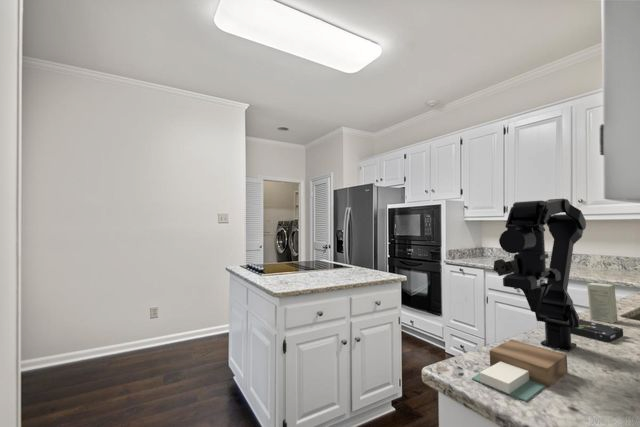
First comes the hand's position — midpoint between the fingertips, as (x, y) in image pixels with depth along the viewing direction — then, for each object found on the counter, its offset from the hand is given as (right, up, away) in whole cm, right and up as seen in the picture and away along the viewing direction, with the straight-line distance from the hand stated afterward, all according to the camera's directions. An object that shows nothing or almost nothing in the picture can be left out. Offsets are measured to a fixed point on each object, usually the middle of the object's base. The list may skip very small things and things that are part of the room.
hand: (534, 311), depth 79 cm
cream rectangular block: (-14, -12, -11) cm, 21 cm away
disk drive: (+28, -12, +17) cm, 35 cm away
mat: (-13, -12, -11) cm, 21 cm away
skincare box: (+42, -12, +27) cm, 52 cm away
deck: (-5, -12, -5) cm, 14 cm away
